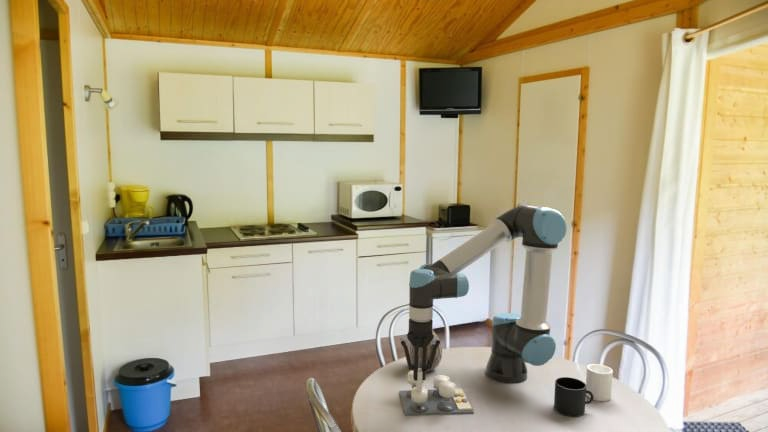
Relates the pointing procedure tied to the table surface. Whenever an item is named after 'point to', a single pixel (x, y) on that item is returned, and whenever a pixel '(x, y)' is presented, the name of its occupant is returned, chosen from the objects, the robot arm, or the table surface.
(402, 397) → the board
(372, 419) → the table surface
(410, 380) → the button
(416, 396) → the button
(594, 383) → the mug
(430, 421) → the table surface
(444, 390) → the button
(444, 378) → the button
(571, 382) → the mug
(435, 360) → the vase
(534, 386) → the table surface
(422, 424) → the table surface
